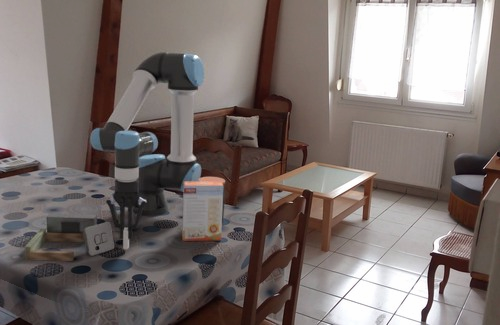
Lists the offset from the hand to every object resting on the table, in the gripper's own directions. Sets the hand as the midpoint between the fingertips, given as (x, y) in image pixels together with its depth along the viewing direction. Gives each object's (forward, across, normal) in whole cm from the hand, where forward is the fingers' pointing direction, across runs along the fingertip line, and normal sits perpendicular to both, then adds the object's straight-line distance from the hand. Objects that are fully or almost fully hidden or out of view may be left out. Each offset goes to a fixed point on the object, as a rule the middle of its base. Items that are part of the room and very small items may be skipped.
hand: (126, 247), depth 171 cm
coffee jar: (+2, -28, -29) cm, 40 cm away
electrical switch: (+2, +9, 0) cm, 9 cm away
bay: (+1, +22, 0) cm, 22 cm away
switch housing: (+1, +20, -11) cm, 23 cm away
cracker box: (+2, -25, -14) cm, 29 cm away
